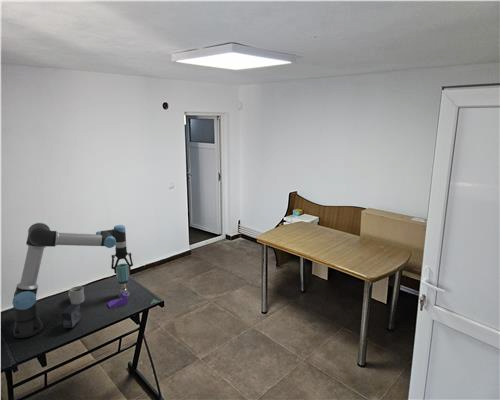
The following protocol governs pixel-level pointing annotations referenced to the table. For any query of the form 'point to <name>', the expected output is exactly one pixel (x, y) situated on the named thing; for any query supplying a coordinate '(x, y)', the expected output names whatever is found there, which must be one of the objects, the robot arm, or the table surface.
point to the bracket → (118, 301)
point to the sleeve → (122, 272)
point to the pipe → (123, 289)
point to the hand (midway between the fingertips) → (123, 276)
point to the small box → (71, 316)
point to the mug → (76, 295)
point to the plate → (121, 296)
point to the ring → (123, 282)
